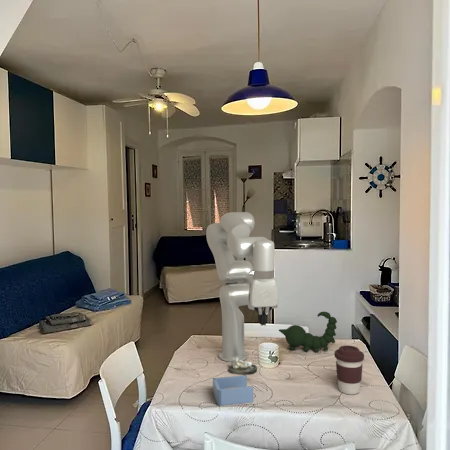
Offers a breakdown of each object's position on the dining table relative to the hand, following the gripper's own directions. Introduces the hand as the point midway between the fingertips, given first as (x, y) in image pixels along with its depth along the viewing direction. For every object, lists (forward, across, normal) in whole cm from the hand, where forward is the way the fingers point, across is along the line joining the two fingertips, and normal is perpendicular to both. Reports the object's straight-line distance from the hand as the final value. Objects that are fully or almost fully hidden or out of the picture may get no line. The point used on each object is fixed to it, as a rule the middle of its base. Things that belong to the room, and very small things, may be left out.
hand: (262, 324), depth 150 cm
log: (+24, -4, +13) cm, 27 cm away
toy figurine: (+24, +29, +29) cm, 47 cm away
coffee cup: (+22, +28, -12) cm, 38 cm away
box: (+22, -12, -8) cm, 27 cm away
